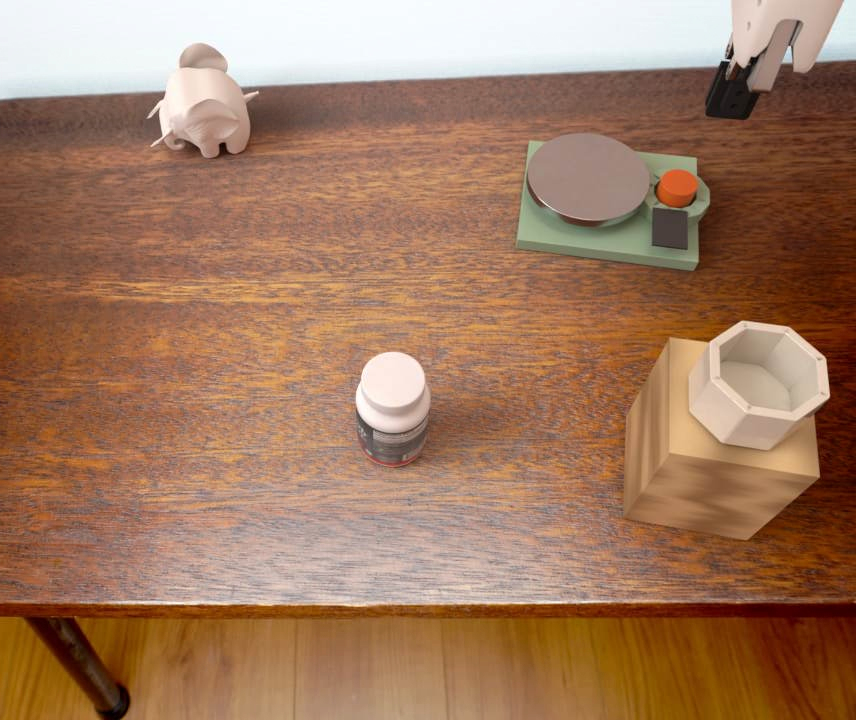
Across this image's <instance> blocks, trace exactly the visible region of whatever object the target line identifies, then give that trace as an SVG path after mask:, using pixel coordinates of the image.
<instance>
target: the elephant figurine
mask: <svg viewBox="0 0 856 720" xmlns="http://www.w3.org/2000/svg"><path fill="white" fill-rule="evenodd" d="M228 68H229V66H228V61H227V59H226V57H225V56H224V55H223V54H222V53H221V52H220V51H219V50H217V49H216V48H214V47H213V46H212V45H210V44H207V43H204V42H194V43H192V44H190V45H187V47H186V48H184V49H183V51H182V52H181V53H180V55H179V57H178V61H177V67H176V69H175V70H173V72H172V73H171V74H170V75H169V76H168V78H167V82H166V85H165V93H164V97H163V99H161V100H159V102H158V103H157V104H156V105H155V107H154V108H153V109H152V110H151V111H150V112H149V114H148V116H147V117H146V120H148V119H151V118H152V117H153V116H154V115H155V113H157V112H158V110H159V112H158V116H159V118H158V119H159V124H160V129H161V130H160V131H161V135H162V136H161V137H160V138H158V139H157V140H155V141H154V142H153V143H152V144H151V145H150V148H153V147H155V146H158V145H160V144H162V142H163V141H164V143H165V144H166V145H167V147H168V148H170V150H173V151H179V150H182V149H183V148H185V146H186V142H185V141H187V142H190V143H191V144H193V145H195V147H198V148H199V150H200V153H201V155H202V157H204V158H206V159H212V158H216V157H217V156H219V154H220V144H222V143H225V147H226V150H227V152H228V153H230V154H232V155H237V154H239V153H241V152H243V151H244V150H245V149H246V147H247V144H248V142H249V139H250V134H251V122H250V117H249V111H248V107H247V103H248V102H249V101H251V100H252V99H253V98H255V97H256V96H257V95H259V94H260V92H259V90H256V91H254V92H250V93H249V92H248V93H245V94H244V92H243V90H242V88H241V87H240V85H239V83H238V82H237V81H236V80H235V79H234V78H232V77H231V76H230V75H228V73H227V72H228Z"/></svg>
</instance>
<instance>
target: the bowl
mask: <svg viewBox="0 0 856 720" xmlns="http://www.w3.org/2000/svg"><path fill="white" fill-rule="evenodd" d="M708 343H709V344H708V346H707V347H706V349H705V350H704V352H703V353H702V355H701V357H700V358H699V360H698V361H697V363H696V364H695V366H694V368H693V369H692V371H691V372H690V374H689V411H690V413H691V414H692V415H694V416H695V417H696V418H697V419H698V420H699V421H700V422H701V423H702V424H703V425H704V426H705V427H706V428H707V429H708V430H709V431H710V432H711V433H712V434H713V435H714V436H715V437H716V438H717V439H718V440H719V441H720V442H721V443H724V444H730V445H737V446H743V447H749V448H755V449H762V450H770V449H772V448H773V447H775V446H776V445H777V444H779V443H780V442H782V441H783V440H784V439H786V438H787V437H789V436H790V435H791V434H793V433H794V432H796V431H797V430H798V429H800V428H801V427H802V426H803V425H804V424H805V423H806V421H807V420H808V419H809V418H810V417H811V416H812V415H813V414H814V415H815V414H816V412H817V411H819V409H821V407H822V406H823V405H824V404H825V403H827V401H828V400H829V399H830V397H831V391H830V384H829V382H830V381H829V373H828V364H827V358H826V357H825V355H823V354H822V353H821V352H819V350H817V349H816V348H815V347H814V346H813V345H811V344H810V343H809V342H808V341H807V340H806V339H805V338H803V337H802V336H801V335H800V334H798V333H797V332H796V331H795V330H794V329H793V328H792V327H791V326H785V325H778V324H771V323H763V322H758V321H757V322H756V321H751V320H750V321H749V320H740V321H739V322H737V323H736V324H734V325H733V326H731V327H730V328H728V329H726V330H724V331H723V332H722V333H720V334H719V335H717V336H716V337H715V338H713V339H711V340H710V341H709V342H708Z"/></svg>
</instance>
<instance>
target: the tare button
mask: <svg viewBox="0 0 856 720" xmlns="http://www.w3.org/2000/svg"><path fill="white" fill-rule="evenodd" d="M697 188H698V181H697V179H696V177H695V176H694V175H693V174H691V173H690V172H687V171H685V170H680V169H674V170H670V171H668V172H666V173H665V174H664V175H663V176H662V178H661V181H660V183H659V186H658V188H657V191H656V195H657V198H658V200H659V201H660V202H661V203H662V204H664V205H666V206H668V207H672V208H682V207H685V206H687V205H689V204H690V203H691V201H692V199H693V197H694V195H695V193H696V190H697Z"/></svg>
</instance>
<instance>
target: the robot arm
mask: <svg viewBox="0 0 856 720" xmlns="http://www.w3.org/2000/svg"><path fill="white" fill-rule="evenodd" d="M730 1H731V3H730V4H731V23H732V24H731V27H732V28H731V29H732V31H731V34H730V37H729V39H728V42H727V44H726V48H725V51H724V60H721V61H720V63H719V64H718V67H717V69H716V72H715V75H714V77H713V79H712V82H711V84H710V87H709V89H708V91H707V94H706V96H705V99H704V105H705V109H704V111H705V116H706V117H707V118H713V119H714V118H715V119H724V120H725V119H726V120H735V121H737V120H738V121H747V120H748V119H749V118H750V117H751V115H752V112H753V110H754V109H755V106H756V104H757V103H758V100H759V98H760V96H761V94H766V95H769V94H770V93H771V92H772V91H771V90H772V88H773V87H774V83H775V81H776V78H777V76H778V74H779V71H780V68H781V65H782V63H783V61H784V59H785V55H786V53H787V50H788V48H789V47H790V51H791V58H792V59H791V61H792V69H793V70H792V71H793V73H799V74H806V73H808V72H809V71H810V70H811V69H812V68H813V67H814V65H815V63H816V61H817V59H818V57H819V55H820V53H821V51H822V49H823V47H824V45H825V42H826V41H827V39H828V36H829V34H830V32H831V30H832V28H833V26H834V23H835V22H836V19H837V17H838V15H839V13H840V11H841V9H842V6H843V4H844V2H845V0H730Z"/></svg>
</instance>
